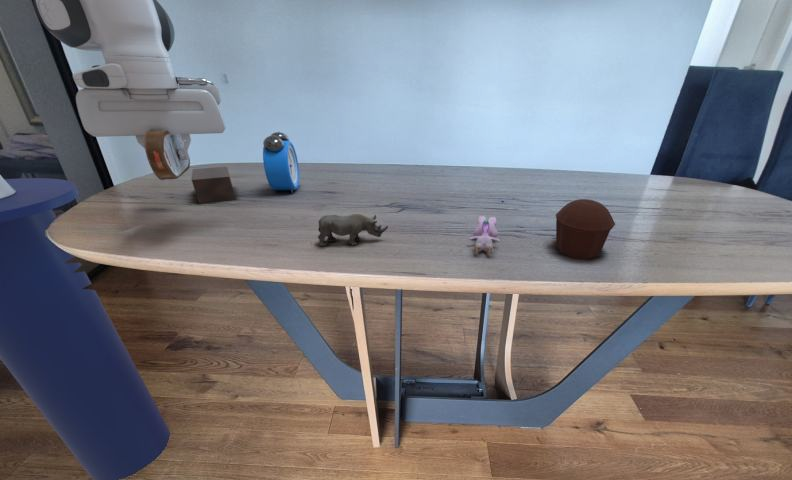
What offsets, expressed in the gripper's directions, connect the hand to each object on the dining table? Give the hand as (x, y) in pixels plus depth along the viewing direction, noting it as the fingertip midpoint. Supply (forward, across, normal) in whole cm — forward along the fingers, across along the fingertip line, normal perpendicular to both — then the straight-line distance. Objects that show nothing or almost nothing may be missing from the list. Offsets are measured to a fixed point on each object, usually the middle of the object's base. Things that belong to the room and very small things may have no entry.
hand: (171, 159), depth 69 cm
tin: (+3, 0, 0) cm, 3 cm away
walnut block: (+15, -4, -27) cm, 31 cm away
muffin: (+14, -67, +43) cm, 81 cm away
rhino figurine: (+14, -28, +19) cm, 37 cm away
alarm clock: (+15, -22, -25) cm, 36 cm away
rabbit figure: (+14, -52, +31) cm, 62 cm away
